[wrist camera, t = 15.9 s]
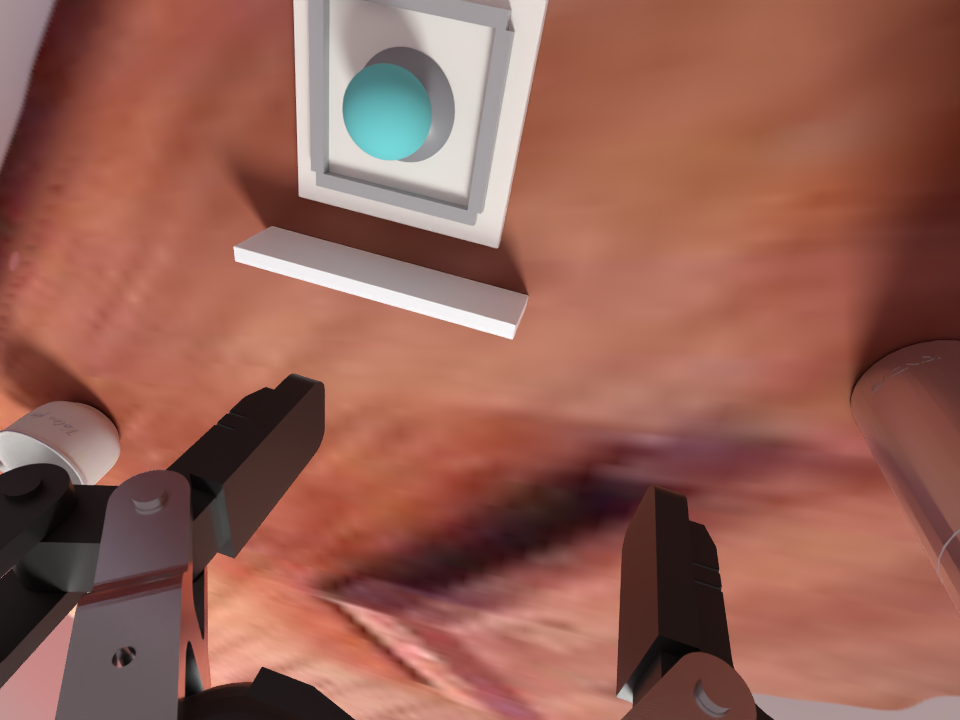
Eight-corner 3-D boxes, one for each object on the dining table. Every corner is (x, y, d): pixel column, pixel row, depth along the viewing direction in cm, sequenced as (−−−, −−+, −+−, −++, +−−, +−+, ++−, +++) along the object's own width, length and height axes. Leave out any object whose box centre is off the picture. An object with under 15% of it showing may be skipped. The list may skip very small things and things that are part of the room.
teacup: (111, 391, 61) (46, 435, 54) (150, 463, 66) (96, 510, 60) (22, 384, 65) (-48, 425, 58) (66, 453, 70) (7, 496, 64)
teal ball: (460, 103, 34) (430, 116, 30) (413, 167, 37) (380, 188, 33) (394, 39, 33) (353, 43, 29) (352, 110, 36) (310, 124, 32)
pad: (551, -14, 31) (547, -16, 29) (499, 244, 40) (495, 252, 38) (298, -64, 33) (284, -68, 31) (304, 193, 42) (293, 199, 40)
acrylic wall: (528, 295, 41) (516, 325, 37) (525, 308, 42) (512, 339, 38) (272, 225, 44) (233, 246, 40) (272, 239, 44) (235, 261, 40)
